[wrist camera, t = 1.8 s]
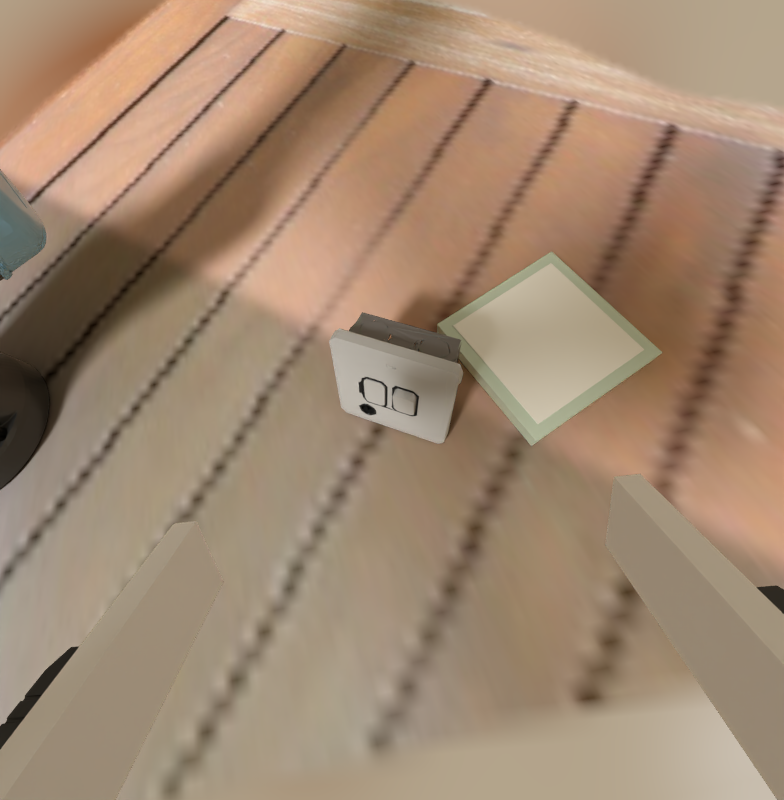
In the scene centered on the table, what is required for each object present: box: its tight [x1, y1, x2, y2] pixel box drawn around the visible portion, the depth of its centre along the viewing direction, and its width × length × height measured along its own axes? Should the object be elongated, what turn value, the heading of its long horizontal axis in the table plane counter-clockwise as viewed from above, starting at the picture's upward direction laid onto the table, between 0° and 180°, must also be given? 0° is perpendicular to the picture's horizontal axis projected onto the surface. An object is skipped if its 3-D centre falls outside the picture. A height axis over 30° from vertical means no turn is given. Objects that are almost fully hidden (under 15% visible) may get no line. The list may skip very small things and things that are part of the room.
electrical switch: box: [329, 312, 463, 444], centre depth 28 cm, size 9×5×9 cm, turn 69°
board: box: [437, 251, 663, 446], centre depth 32 cm, size 13×13×2 cm
